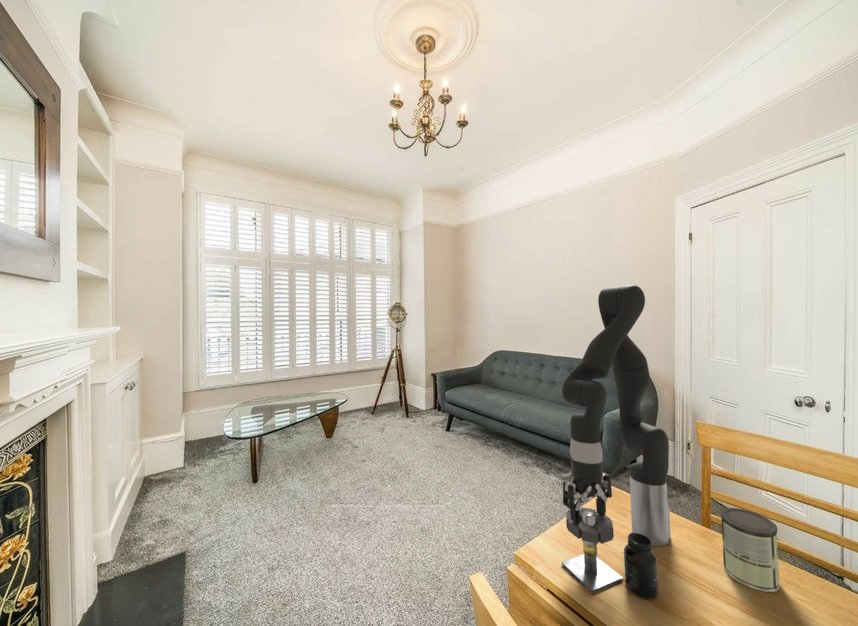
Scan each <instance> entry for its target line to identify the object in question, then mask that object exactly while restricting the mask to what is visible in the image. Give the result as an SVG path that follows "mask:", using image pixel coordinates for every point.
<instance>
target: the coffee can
mask: <svg viewBox="0 0 858 626" xmlns="http://www.w3.org/2000/svg"><path fill="white" fill-rule="evenodd" d="M720 519H721V534H722V537H721V538H722V554H723V555H722V558H723V559H722V560H723V569H724V571H725V572H726V574H727V575H728V576H730V577H731V578H732V579H733V580H734V581H736V582H738V583H739V584H741V585H744V586H746V587H747V588H750V589H753V590H756V591H759V592H764V593H775V592H777V591H779V590H780V588H781V585H780V574H779V573H780V572H779V571H780V569H779V557H778V556H779V555H778V554H779V551H778V535H777V534H778V527H777V525H776V523H774V522H773V521H772V520H770V519H769V518H768V517H766V516H764V515H761V514H759V513H757V512H753V511H750V510H747V509H742V508H737V507H726V508H723V509H721V510H720Z"/></svg>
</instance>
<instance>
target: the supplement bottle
mask: <svg viewBox="0 0 858 626" xmlns="http://www.w3.org/2000/svg"><path fill="white" fill-rule="evenodd" d="M653 551H654V550H653V549H652V545H651V541H650V539H649V538H647V537H646V536H644V535H642V534H638V533H632V532H631V533H629V534H628V535H627V544H626V545H625V546H624V548H623V561H624V563H623V564H624V565H623V566H624V583H625V585H626V587H627V588H628V590H629V591H630V592H631V593H632V594H634V595H635V596H637V597H639V598H641V599H646V600H654V599H656V598H657V597H658V595H659V577H658V559H657V556H656V554H655V553H654V552H653Z"/></svg>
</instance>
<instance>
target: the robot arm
mask: <svg viewBox="0 0 858 626" xmlns="http://www.w3.org/2000/svg"><path fill="white" fill-rule="evenodd" d="M597 302H598V308H599V309H598V310H599V313H600V318H601V321H602V325H603V327H604V329H603V330H601V331H600V332H599V333H598V334H597V335H596V336H595V337H594V338H593V339H592V340H591V341H590V343H589V344H588V346H587V348H586V351H585V352H584V354H583V358H581V361H580V363H578V365H577V366H576V367H575V368H574V370H573V371H571V373H569V375H568V376H567V377H566V379H565V381H564V382H563V384H562V390H561V393H562V397H563V399H564V401H565V402H566V403H568V404H571V405H574V406H579V407H585V412H584V413H576V414H573V415H572V416H571V417H570V445H569V449H570V451H569V453H570V470H571V474H572V476H573V479H572V481H571V482H568V481H566V480H565V481H564V482H563V484H562V505H563V506H564V507H566V508H567V509H568V510H570V516H571V520H572V521H573V522H574V523H575V524H577V525H579V524H580V510H579V508H580V509H581V507H582V504H584V503H585V502H586V500H587V499H588V498H590V497H596V498H595V506H596V508H595V510H596V512H597V513H598V514H600V515H601V516H605V515H606V511H607V505H606V502H607V501H608V498H609V499H611V498H612V497H613V493H612V492H613V491H612V481H611V480H612V479H611V478H612V477H611V475H609V474H607V473H606V472H604V467H603V466H604V464H603V463H604V462H603V447H602V440H601V422H602V418H603V415H604V414H603V413H604V410H605V406H606V402H607V395H608V393H607V390H606V388H605V386H604V384H602V383H601V382H600V381H598V379H605V378H606V377H607V376H608V375H609V373H610V371H611V368H612V372H613V373H612V374H613V378H614V382H615V389H616V393H617V402H618V411H619V412H618V413H619V425H620V426H619V428H620V437H621V441H622V443H623V445H624V446H625V447H626V448H627V449H629V450H630V451H632V452H635V454H636V453H637V454H638V455H641V456H642V462H641V461H640V462H639V461H637V462H634V463H631V464H630V466H629V467H628V470H629V490H630V493H629V494H630V514H631V533H638V534H642V535H644V536H646V537H647V538H649V539H650V541H651V546H656V547H663V546H667V545H668V544H669V542H670V539H671V515H670V505H669V504H668V492H667V491H668V490H667V477H668V473H669V468H670V467H669V466H670V465H669V463H670V459H669V457H670V454H669V453H670V443H669V438H668V434H667V433H666V432H665V430H663V429H662V428H660V427H657V426H654V425H652V424H649V423H646V422H644V421H643V418H642V413H641V403H642V401H643V399H644V397H645V396H646V394H647V392H648V390H649V387H650V384H651V375H650V370H649V364H648V361H647V357H646V356H645V354H644V353H643V352H642V350H641V349H640V348H639V347H638V346H637V344H636V343H635V342H634V341H633V340H632V339H631V338H630V337H629V335H628V334H629V333H630V332H631V331H632V328H634V325H635V324H636V322H637V321H638V320H639V318H640V316H641V314H642V312H643V311H644V308H645V305H646V296H645V293H644V291H643V290H642V288H641V287H640V286H638V285H635V284H629V285H628V284H626V285H620V286H612V287H607V288H602V289H601V290H600V292H599V294H598V299H597ZM596 380H597V381H596ZM578 495H580V496H578Z"/></svg>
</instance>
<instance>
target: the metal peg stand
mask: <svg viewBox="0 0 858 626" xmlns="http://www.w3.org/2000/svg"><path fill="white" fill-rule="evenodd" d="M582 517H583V523H584V524H586V525H591V526H595V525H596V524H595V514H593V513H592V512H589V511H584V512H583V513H582ZM582 545H583V546H582V550H583V554H580V555H577V556H575V557H572V558H569V559H567V560H565V561H561V566H562V567H563V568H564V569H565V570H566V571H567V572H568V573H569V574H571V576H572V577H574V578H575V579H576V580H577V581H578V582H579V583H580V584H581V585H582V586H583V587H585V589H586V590H588V592H589V593H590V594H591V595H594V594H596V593H599V592H600V591H603V590H604V589H607V588H610V587H611V586H615V585H616V584H618V583H620V582H623V580H624V579H623V576H621V575H620V574H619V573H617V572H616V571H615V570H614V569H612V568H611V567H610V566H609V565H608V564H606V563H605V562H604V561H603V560H601V559H600V558H599V557H598V544H596V543H591V542H587V541H582Z"/></svg>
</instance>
